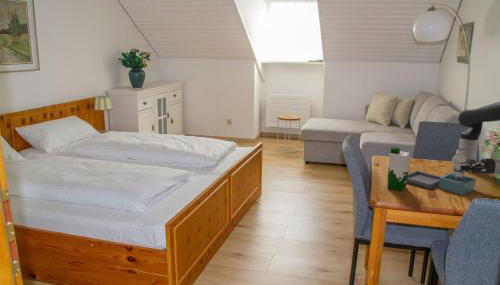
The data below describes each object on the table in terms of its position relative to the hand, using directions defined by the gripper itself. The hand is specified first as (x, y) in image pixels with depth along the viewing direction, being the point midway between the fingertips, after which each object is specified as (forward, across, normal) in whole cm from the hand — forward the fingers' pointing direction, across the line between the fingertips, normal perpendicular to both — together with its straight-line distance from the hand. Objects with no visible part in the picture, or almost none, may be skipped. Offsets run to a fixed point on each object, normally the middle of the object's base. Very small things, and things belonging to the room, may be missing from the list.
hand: (457, 165), depth 208 cm
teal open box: (-1, 0, +12) cm, 12 cm away
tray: (+13, -9, +12) cm, 20 cm away
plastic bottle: (-1, 0, +12) cm, 12 cm away
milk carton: (+28, +2, +12) cm, 31 cm away
